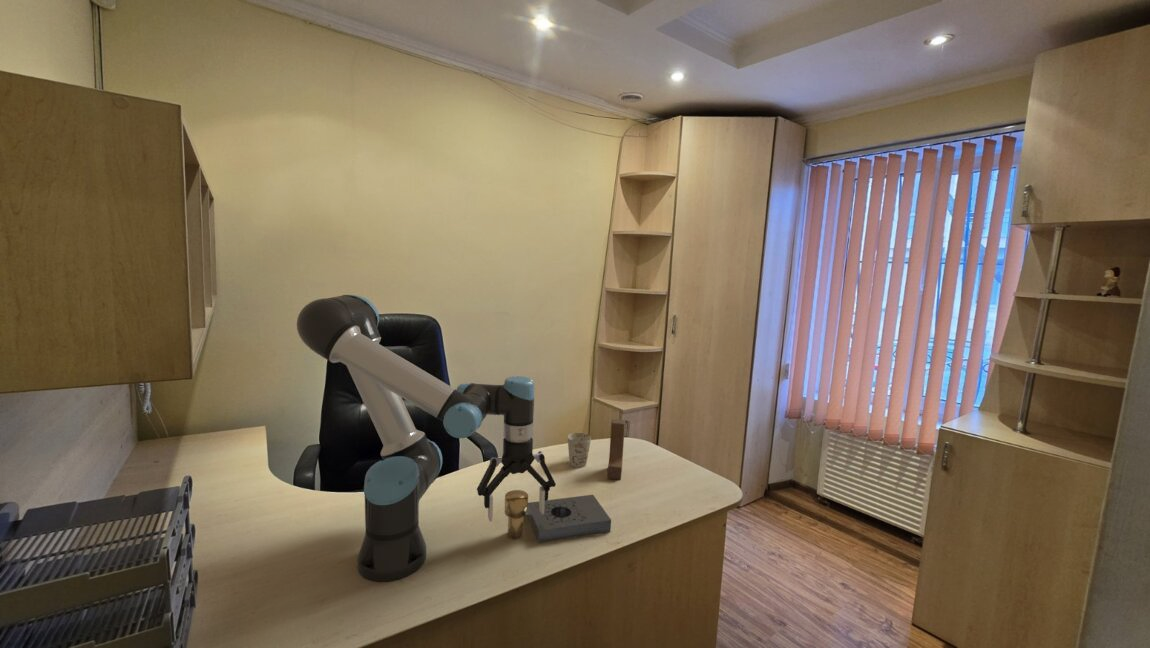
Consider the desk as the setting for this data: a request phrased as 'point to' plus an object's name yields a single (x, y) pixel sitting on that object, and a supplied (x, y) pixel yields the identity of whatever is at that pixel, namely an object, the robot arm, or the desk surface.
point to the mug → (578, 449)
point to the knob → (516, 512)
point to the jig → (568, 518)
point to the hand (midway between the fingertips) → (516, 515)
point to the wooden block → (616, 449)
